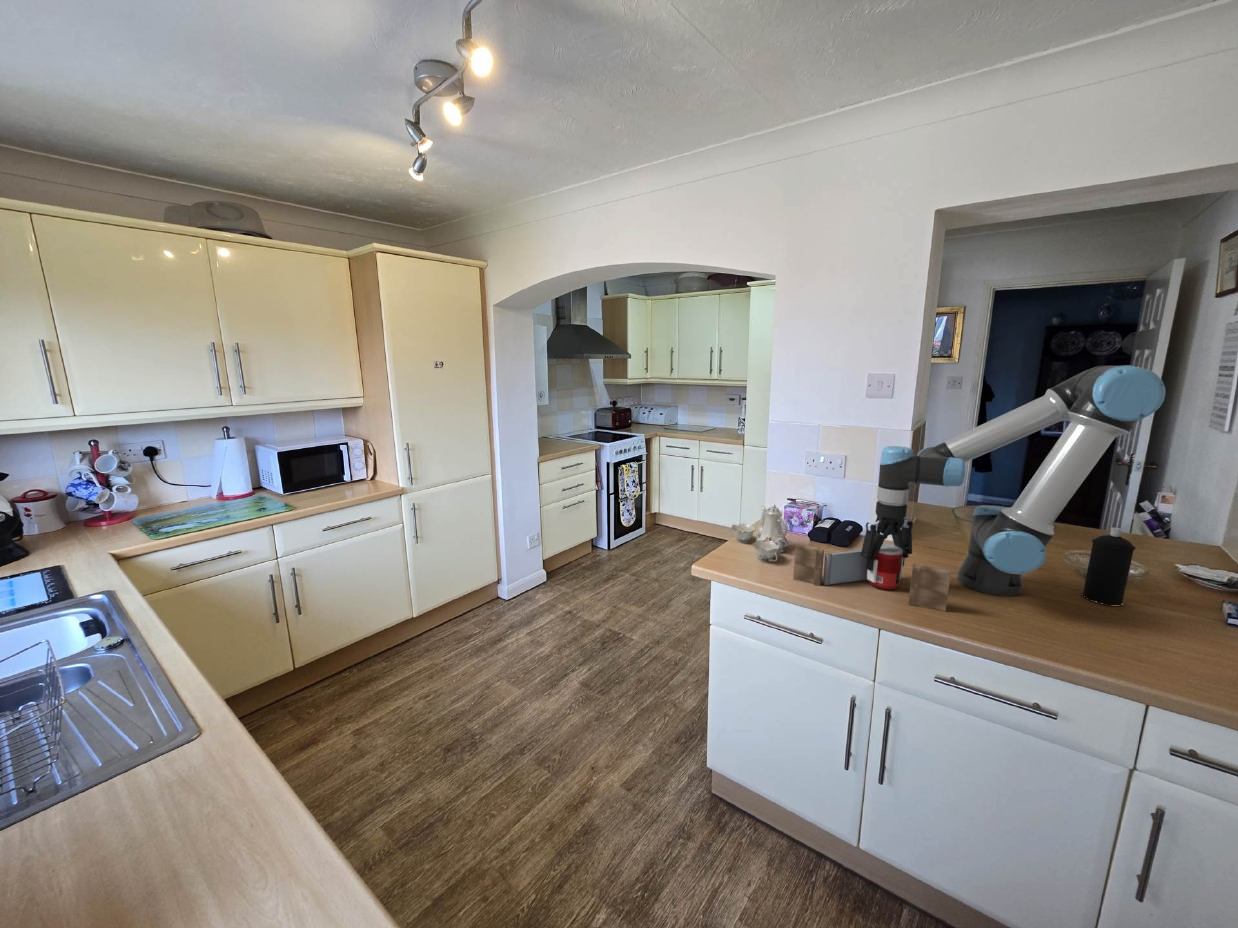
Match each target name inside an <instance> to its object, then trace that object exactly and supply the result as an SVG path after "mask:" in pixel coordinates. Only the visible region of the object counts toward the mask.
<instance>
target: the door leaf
mask: <svg viewBox="0 0 1238 928" xmlns="http://www.w3.org/2000/svg"><path fill="white" fill-rule="evenodd" d="M861 551H862V549H857V550H850V551H849V550H847V551H841V552H830V553H828V552H827V553H824V562H823V567H824V568H823V575H822V584H823V585H825V586H829V585H835V584H843V583H850V582H859V581H866V580H867V581H868V579H867V571H868V569H867V568H866V564H867V558H865V557H863V556H861Z"/></svg>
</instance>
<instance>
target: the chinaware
mask: <svg viewBox="0 0 1238 928" xmlns="http://www.w3.org/2000/svg"><path fill="white" fill-rule="evenodd" d="M761 509H762V510H761V511H762V512H761V516H760V518H759V519H760V520H759V522H758V526H757V527H758V528H757V531H758V532H757V533H758V534H757V535H756V537H755V542H754V543H752V544H751V546H752V547H753V548H754V552H755V554H756V556H757V557H758V558H759V559H760V562H764V563H768V562H775V563H776V561H778V554H781V553H784V551H785V548H787V547H788V546H789V541H788V540H787V534H788V532H789V531H788V530H789V529H788V528H789V527H788V523H787V521H786V520H785V519H784V518H783V514H784V511H782V510H780V509H779V508H778V507H777V506H776V504H775V503H773V504H772V505H771V506H770V507H768V508H766V506H762V505H761ZM782 523H783V524H784V530H783V527H782ZM731 531H733V535H734V536H735V537H734V538H736V539H737V541H738V542H739V543H740V544H746V543H748V542H749V540H750V539H752V537H753V536H754V533H755V532H756V526H754V525H748V524H745V523H740V524H732V525H731ZM783 531H784V532H783ZM737 536H738V537H737ZM773 558H775V560H774V559H773Z"/></svg>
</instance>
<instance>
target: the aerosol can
mask: <svg viewBox="0 0 1238 928" xmlns="http://www.w3.org/2000/svg"><path fill="white" fill-rule="evenodd" d="M1121 534H1122V528H1120V527H1111V528H1110V531H1109V534H1105V535H1099V536H1097V537H1095V538H1093V539H1092V540H1091V542H1092V545H1091V550H1090V556H1089V560H1088V566H1087V570H1086V575H1085V581H1084V587H1083V593H1082V592H1081V595H1082V594H1083V596H1085V598H1088V599H1089V600H1093V601H1097V602H1098V603H1103V604H1107V605H1121V604H1122V603H1123V602H1124V599H1125V598H1124V597H1125V593H1126V588H1127V583H1128V578H1129V573H1130V569H1131V564H1132V559H1133V556H1134V555H1133V554H1134V551H1136V547H1135V546H1134V545H1133V543H1132V542H1131V541H1129V540H1127V539H1126V538H1124V537H1122V536H1121ZM1083 596H1082V597H1083ZM1085 598H1084V599H1085ZM1089 600H1088V601H1089ZM1098 603H1097V604H1098ZM1107 605H1106V606H1107Z"/></svg>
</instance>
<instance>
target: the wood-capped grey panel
mask: <svg viewBox="0 0 1238 928" xmlns="http://www.w3.org/2000/svg"><path fill="white" fill-rule="evenodd" d="M794 549H795V550H794V563H793V579H792V580H794V581H799V582H803V583H808V584H813V585H814V586H821V584H822V583H823V571H824V568H823V567H824V559H825V548H824V547H817V546H811V545H805V544H799V543H796V544H795V548H794ZM951 574H952V573H951V570H950V569H949V570H947V569H943V568H937V567H931V566H925V565H921V564H917V563H912V569H911V577H910V588H909V596H908V605H909V606H913V607H914V606H915V607H916V606H917V607H920V608H921V607H922V608H925V609H926V608H927V609H931V610H936V611H940V612H945V613H946V611H947V603H948V596H949V590H950V583H951V582H950V581H951Z"/></svg>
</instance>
